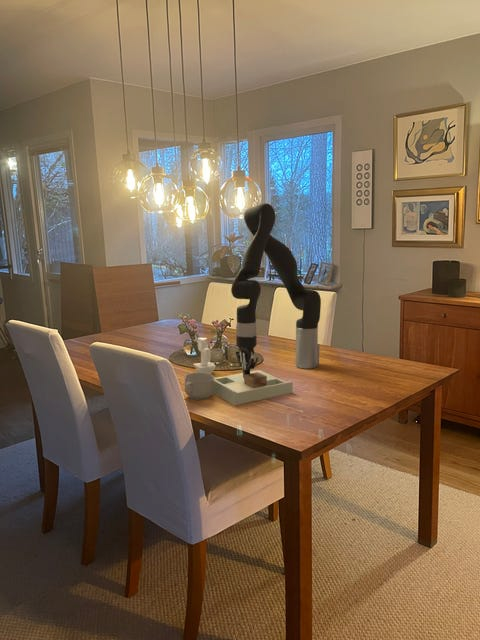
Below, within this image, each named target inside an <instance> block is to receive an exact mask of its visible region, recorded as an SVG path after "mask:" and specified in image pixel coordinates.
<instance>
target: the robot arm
mask: <svg viewBox="0 0 480 640" xmlns="http://www.w3.org/2000/svg"><path fill="white" fill-rule="evenodd" d="M276 217H277V216H276V211H275V209H274V207H273V206H272V205H271V204H270V203H262V204H258V205H255V206H252V207H249V208H247V209H246V210H244V213H243V220H244V223H245V225H246V227H247V229H248V230H249V232H250V233H251V234H252V235H253V238H252V240H251V242H249V244H248V246H247V247H246V249H245V251H244V252H243V256H242V260H241V266H240V269H239V271H238V273H237V275H236V277H235V278H234V280H233V282H232V284H231V289H230V290H231V296H232V297H233V298H235V299H237V300H249V301H248V303H247V304H241V305H239V306H237V307H236V326H235V330H236V331H235V335H236V337H235V340H236V343H235V346H236V347H238V351H235V356H236V358H237V361H238V365H239V367H241V369H242V373H243V378H244V375H246V374H250V372H251V370H254V368H255V367H256V365H257V363H258V361H259V358H258V357H256V356H255V348H256V347H257V343H258V341H257V340H258V339H257V336H258V335H257V333H258V332H257V316H256V315H257V307H258V302H259V299H260V295H261V289H262V288H261V284H260V283H259V281H257V280H255V279H254V278H257V277H258V276H259V275H260V270H261V265H262V260H263V257H264V253H265V255H266V256H267V258H268V261H270V263H271V265H272V267H273V269H274V271H275V272H276V274H277V275H278V276H279V279H280V280H281V282H282V283H283V286H284V287H285V289H286V292H287V293H288V294H287V295H288V296H289V298H290V300H291V302H292V305H293V306H294V308H296V309H297V310H299V311H302V317H301V318H298V319H297V320H296V321H295V367H297V368H299V369H309V370H310V369H315V368H317V367H320V344H319V336H318V335H319V322H320V319H321V311H322V309H321V308H322V305H321V304H322V300H321V296H320V293H319V292H318V291H316V290H313V289H309V288H308V289H307V288H306V287H305V286H304V285H303V284H302V282H301V281H300V278H299V274H298V264H297V263H298V262H297V260H296V258H295V257H294V255H293V253H292V251H291V249H290V248H289V247H288V246H287V245H286V244H284V243H283V242H282V241H280V240H278V239H276V238H275V237H274V236H272V235H271V233H272V231H273V228H274V226H275V222H276ZM251 279H252V280H251Z"/></svg>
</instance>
